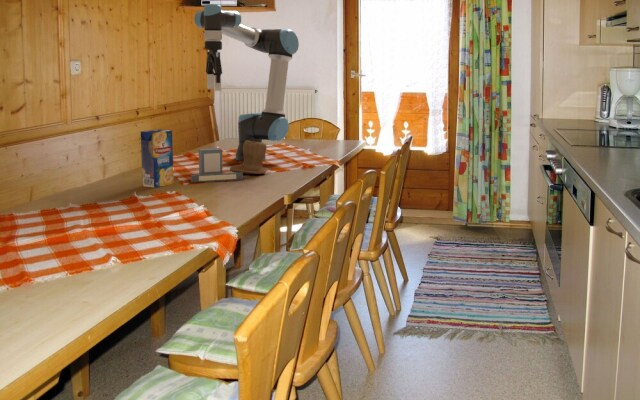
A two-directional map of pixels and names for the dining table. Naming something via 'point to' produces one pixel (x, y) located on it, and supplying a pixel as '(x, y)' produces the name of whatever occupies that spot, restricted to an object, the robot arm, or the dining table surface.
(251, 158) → the brown piece
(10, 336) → the dining table surface
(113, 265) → the dining table surface
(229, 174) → the rail
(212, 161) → the slate carton
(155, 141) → the blue food box
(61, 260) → the dining table surface
